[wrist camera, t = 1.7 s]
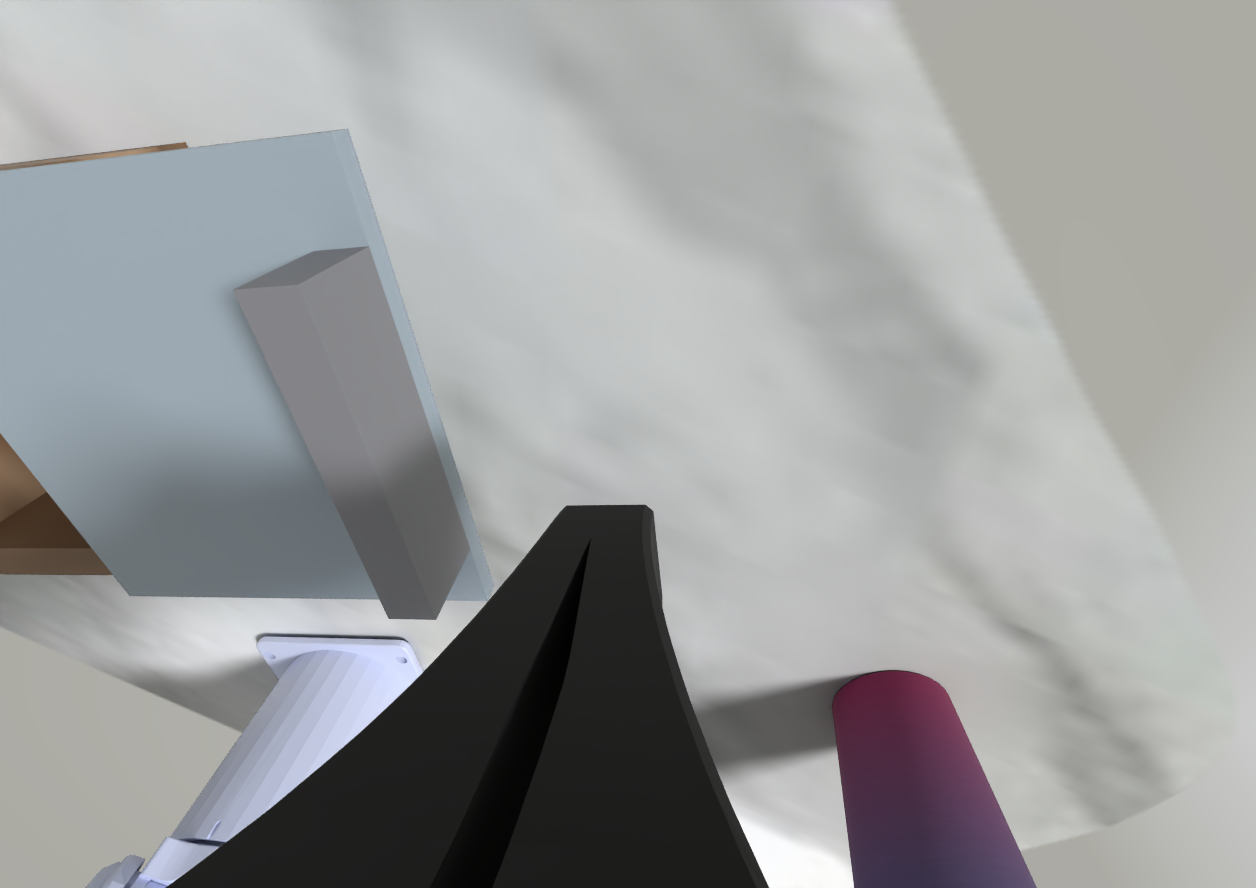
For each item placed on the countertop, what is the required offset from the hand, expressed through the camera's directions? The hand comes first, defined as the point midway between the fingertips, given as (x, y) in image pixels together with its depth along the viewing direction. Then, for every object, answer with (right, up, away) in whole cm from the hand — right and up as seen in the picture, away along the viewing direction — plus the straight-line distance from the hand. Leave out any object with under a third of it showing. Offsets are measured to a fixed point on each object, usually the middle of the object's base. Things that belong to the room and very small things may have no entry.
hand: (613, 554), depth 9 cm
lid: (-10, +2, +6) cm, 12 cm away
